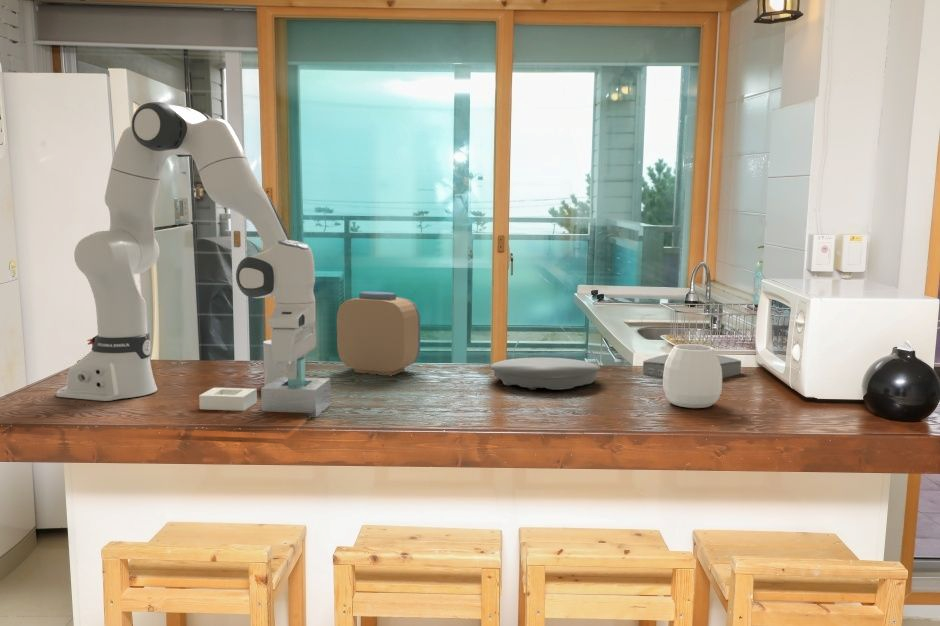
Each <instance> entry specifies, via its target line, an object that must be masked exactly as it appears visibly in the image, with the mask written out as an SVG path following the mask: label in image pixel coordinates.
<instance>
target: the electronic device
mask: <svg viewBox="0 0 940 626" xmlns="http://www.w3.org/2000/svg"><path fill="white" fill-rule="evenodd" d="M669 354H670V353H669ZM669 354H663V355H659V356H658V355H657V356H655V357H651V358H648V359H645V360H643V361H642V362H643V364H642V374H643V375H647V376H652V377H656V378H662V379H663V373H664V366H665V363H666V360H667V358H668V355H669ZM716 355H717V357H718V359H719V362H720V365H721V368H722V379H725V378H728V377H729V378H730V377H732V376H737V375H742V374H741V373H742V372H741V371H742V360H740V359H736V358H734V357H730V356H725V355H720V354H716Z"/></svg>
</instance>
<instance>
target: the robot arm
mask: <svg viewBox="0 0 940 626" xmlns="http://www.w3.org/2000/svg"><path fill="white" fill-rule="evenodd" d="M173 155H175V156H176V157H177V158H178V157H179V158H183V157H185V158H186V157H192V158H193V160H194V161H193V162H194V163H195V166H196V169H197V171H198V175H199V177H200V181H201V183H202V187H203V188H204V190H205V192H206V194H207V196H208V197H209V198H210V199H211V201H212V202H214V203H215V204H217V205H219V206H221V207H223V208H225V209H228V210H230V211H233V212H235V213H236V214H239V215H241V216H243V217H244V218H246V219H247V220H248V221H249V222H251V224H252V225H253V226H254V228H255V230H256V232H257V234H258V235H259V238H260V240H261V242H262V245H263V247H264V249H265V250H264V251H261V252H258V253H256V254H253V255H250V256H246V257H244V258H242V260H240V262H239V264H238V265H237V267H236V272H235V280H236V283H237V287H238V289H239V291H241V292H242V294H243V295H245V296H246V297H247V298H254V299H262V298H263V299H265V298H272V297H273V299H274V301H273V302H274V308H273V311H272V313H271V314H270V316H269V318H268V327H269V328H270V329H271V332H270V340H271V344H272V356H273V360H274V362H275V363H276V364H286V367H287V370H288V378H289V379H296V378H297V377H298V370H297V368H296V364H297V359H298V358H305V363H306V362H307V361H306V360H307V354H308V353H310V352H311V351H313V350H315V349H316V348H317V332H316V331H317V330H316V321H317V320H316V319H317V318H316V316H317V315H316V313H317V311H316V297H315V293H314V287H315V283H316V273H315V272H316V268H315V259H314V254H313V250H312V248H311V246H310V245H309V244H307V243H306V242H303V241H299V240H291V238H290V235H289V233H288V231H287V229H286V227H285V225H284V223H283V221H282V219H281V217H280V215H279V213H278V211H277V208H276V207H275V206H276V205H274V203H273V201H272V199H271V197H270V196H269V194H268V193H267V192H266V191H265V190H264V189H263V187H262V185H261V184H260V183H259V181H258V179H257V177H256V176H255V174H254V172H253V170H252V168H251V165H250V163H249V160H248V158H247V154H246V152H245V151H244V148H243V146H242V144H241V141H240V139H239V138H238V136H237V134H236V132H235V131H234V129H233V127H232V126H231V124H230V123H229V122H228V121H226V120H224V119H222V118H216V117H214V118H212V117H211V116H209V115H208V114H206V113H205V112H203V111H202V110H198V109H193V108H190V107H187V106H184V105H181V104H169V103H165V102H160V101H151V102H145V103H144V104H142V105H140V106H139V107H138V108H137V109H136V110H135V111H134V113H133V115H132V118H131V125H130V126H128V127H126V128H125V129H124V130H123V132H122V133H121V136H120V138H119V140H118V143H117V146H116V148H115V151H114V154H113V157H112V161H111V166H110V171H109V175H108V179H107V185H106V190H105V195H104V203H105V205H106V206H107V208H108V211H109V221H110V223H109V230H101V231H100V230H99V231H96V232H93V233H91V234H89V235H87V236H84V237H83V238H82V239H80V240H79V241H78V242H77V244H76V246H75V249H74V254H73V255H74V257H73V259H74V262H75V265H76V266H77V268H78V270H79V271H80V272H81V273H82V274H83V275H84V276H85V278H86V279H87V282H88V284H89V287H90V289H91V292H92V295H93V299H94V302H95V303H94V304H95V312H96V313H95V314H96V325H97V334H96V335H95V336H94V337H92V338H89V339H86V340H87V342H88V343H87V346H89V345H91V351H89V352H88V353H87V354H86V355H84V356H83V357H82V358H80V360H78V361H77V362H76V363H74V364H73V365H72V366H70V368H69V370H68V372H67V375H66V376H67V377H66V386H64V387H61V388H59V389H57V391H56V397H58V398H69V399H79V400H90V401H102V402H109V401H114V400H115V401H116V400H121V399H128V398H137V397H142V396H147V395H152V394H153V393H156V392H157V391H158V387H157V385H156V381H155V378H154V375H153V370H152V364H151V338H150V333H149V331H148V312H147V310H148V309H147V302H146V299H145V298H144V297H143V296H142V295H141V293H140V291H139V289H138V286H137V283H136V278H135V275H138V274H142V273H144V272H146V271H147V270H149V269H150V268H152V267H154V266H155V265H156V263H157V262H158V260H159V258H160V252H161V251H160V246H159V242H158V241H157V239H156V235H155V210H156V204H157V198H158V195H159V190H160V184H161V180H162V175H163V170H164V166H165V163H166V161H167V160H168V158H170V157H171V156H173Z"/></svg>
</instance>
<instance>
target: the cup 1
mask: <svg viewBox="0 0 940 626" xmlns="http://www.w3.org/2000/svg"><path fill="white" fill-rule="evenodd" d="M263 373H264V374H263V376H264V378H263V379H264V386H266V385H267V384H269V383H271V382H272V381H274V380H275V379H277V378H279V377H288V370H287V367H286V364H276V363H275V362H274V360H273V356H272V344H271V339H267V340H263Z"/></svg>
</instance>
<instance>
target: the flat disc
mask: <svg viewBox="0 0 940 626" xmlns="http://www.w3.org/2000/svg"><path fill="white" fill-rule="evenodd" d="M490 368H491V370H492V371H493V374H494V376H495V377H496V378H497V379H499V380H500V381H502V383H503V385H505V386H508V387H510V386H512V385H514V386H519V387H521V388H527V389H529V390H530V391H534V390H536V389H538V388H540V389H544V388H546V389H547V390H548V389H549V390H553V391H554V390H565V389H566V390H569V389H573V388H575V387H581V386H585V385H589V384H592V383H594V381H595V380H596V378H597V375H598V372H599V371H600V370H601V367H600V366H599V365H598V364H596V363H594V362H590V361H587V360H579V359H573V358H564V357H563V358H562V357H518V358H510V359H504V360H500V361H499V360H498V361H497V362H494V363H492V364H491V365H490Z"/></svg>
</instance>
